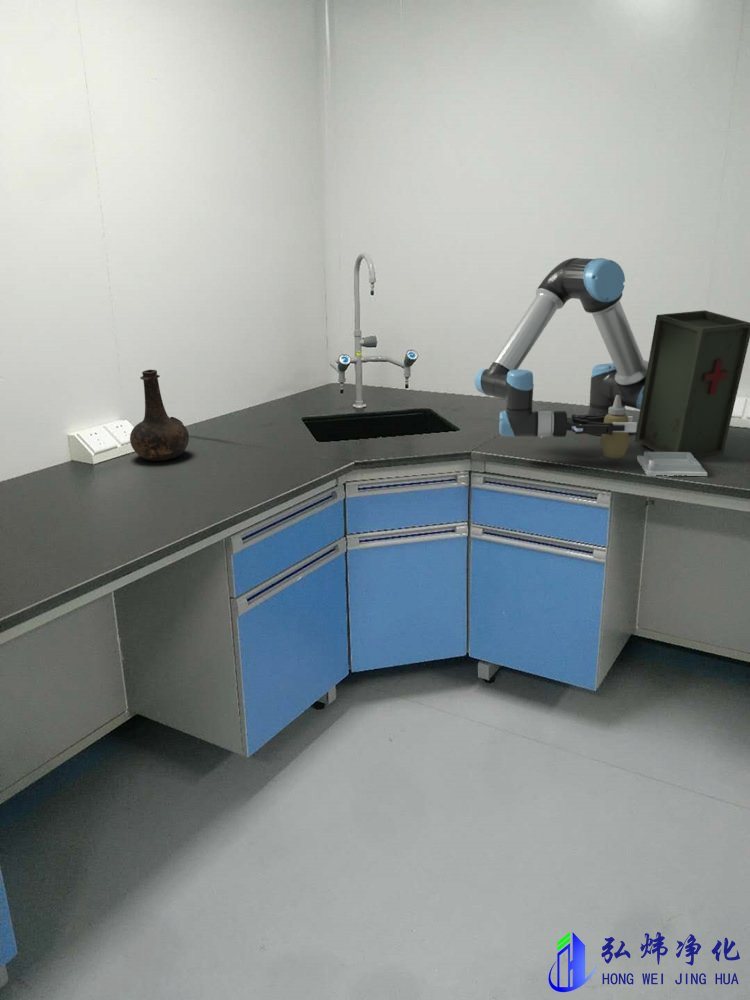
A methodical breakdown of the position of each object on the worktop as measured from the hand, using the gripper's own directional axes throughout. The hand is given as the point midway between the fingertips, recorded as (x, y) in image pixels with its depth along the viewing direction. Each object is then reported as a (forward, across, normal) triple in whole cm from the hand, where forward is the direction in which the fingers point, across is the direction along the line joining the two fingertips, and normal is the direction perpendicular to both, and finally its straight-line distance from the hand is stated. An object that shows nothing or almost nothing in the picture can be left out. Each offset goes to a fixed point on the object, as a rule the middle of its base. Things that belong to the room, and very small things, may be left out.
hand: (634, 424), depth 218 cm
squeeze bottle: (-5, 0, -10) cm, 11 cm away
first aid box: (+17, -18, -12) cm, 28 cm away
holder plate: (+11, +2, -12) cm, 17 cm away
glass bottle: (-145, +2, -11) cm, 146 cm away
